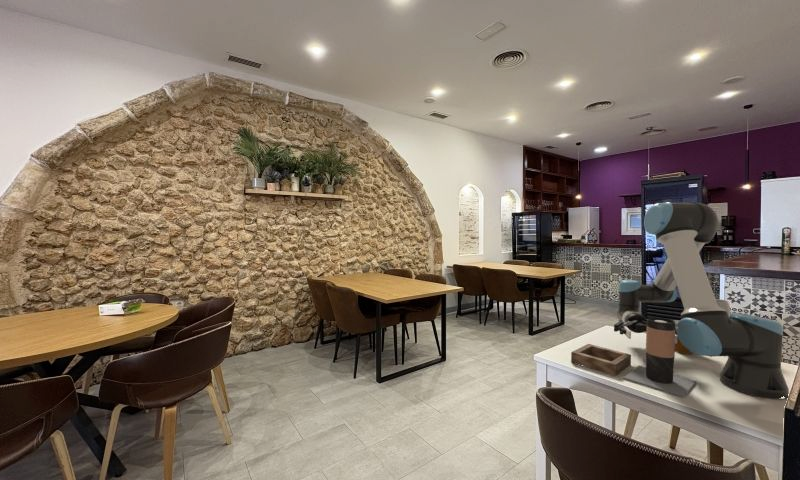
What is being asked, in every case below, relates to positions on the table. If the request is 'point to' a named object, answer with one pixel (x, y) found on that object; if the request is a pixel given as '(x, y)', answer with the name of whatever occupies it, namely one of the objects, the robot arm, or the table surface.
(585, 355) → the frame
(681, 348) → the disposable coffee cup
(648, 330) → the travel mug
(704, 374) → the table surface
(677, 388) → the rubber mat
